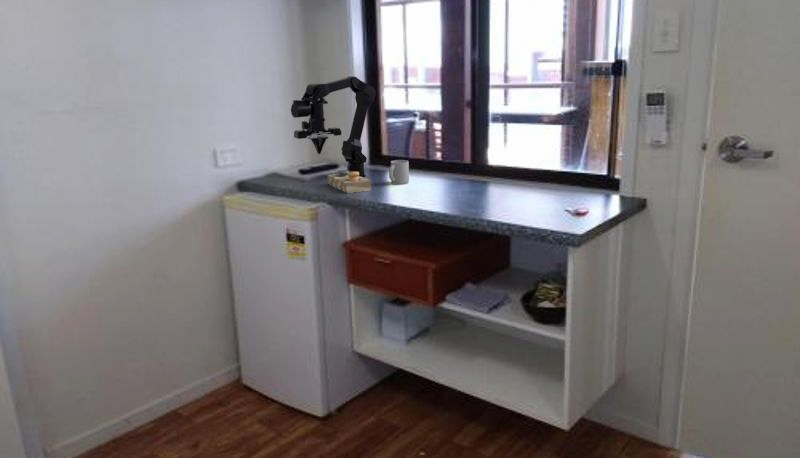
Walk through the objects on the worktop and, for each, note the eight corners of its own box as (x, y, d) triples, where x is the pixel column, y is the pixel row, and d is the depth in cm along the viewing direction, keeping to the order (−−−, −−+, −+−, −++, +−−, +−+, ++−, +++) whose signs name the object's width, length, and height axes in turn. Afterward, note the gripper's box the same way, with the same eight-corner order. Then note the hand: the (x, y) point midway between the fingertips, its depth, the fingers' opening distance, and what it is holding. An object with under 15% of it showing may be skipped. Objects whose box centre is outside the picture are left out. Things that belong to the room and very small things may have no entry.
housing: (328, 184, 254) (327, 175, 253) (350, 181, 259) (350, 172, 258) (347, 193, 237) (346, 183, 236) (370, 190, 242) (370, 180, 241)
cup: (412, 182, 255) (412, 161, 252) (396, 186, 248) (396, 164, 245) (399, 180, 259) (398, 159, 257) (383, 184, 252) (382, 162, 250)
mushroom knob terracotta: (356, 185, 246) (356, 171, 245) (361, 187, 243) (361, 172, 241) (346, 186, 244) (345, 172, 243) (350, 188, 241) (350, 174, 239)
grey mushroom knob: (347, 183, 255) (346, 169, 254) (351, 185, 251) (351, 171, 250) (336, 184, 253) (336, 170, 252) (341, 186, 249) (340, 172, 248)
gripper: (331, 112, 263) (333, 149, 267) (288, 115, 254) (291, 153, 259) (341, 114, 253) (342, 152, 257) (297, 117, 245) (299, 157, 249)
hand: (319, 154), depth 256 cm, fingers closed
